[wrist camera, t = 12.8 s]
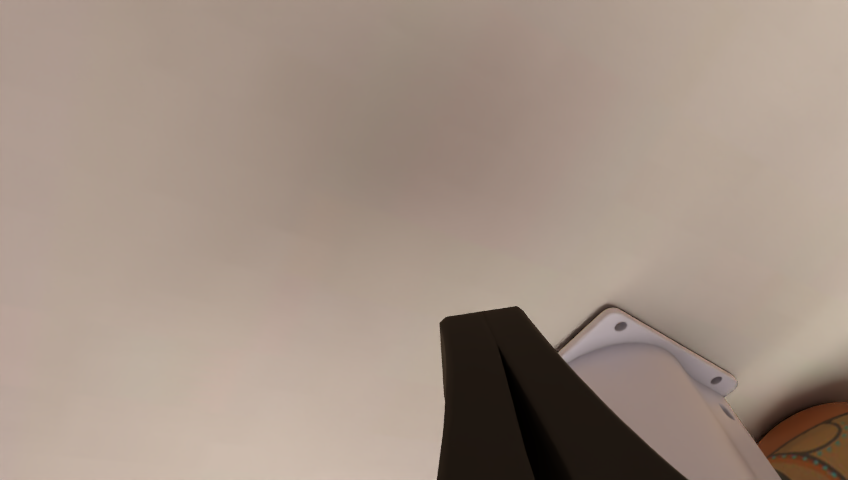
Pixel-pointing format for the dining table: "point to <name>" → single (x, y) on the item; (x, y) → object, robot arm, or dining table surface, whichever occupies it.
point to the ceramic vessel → (810, 444)
